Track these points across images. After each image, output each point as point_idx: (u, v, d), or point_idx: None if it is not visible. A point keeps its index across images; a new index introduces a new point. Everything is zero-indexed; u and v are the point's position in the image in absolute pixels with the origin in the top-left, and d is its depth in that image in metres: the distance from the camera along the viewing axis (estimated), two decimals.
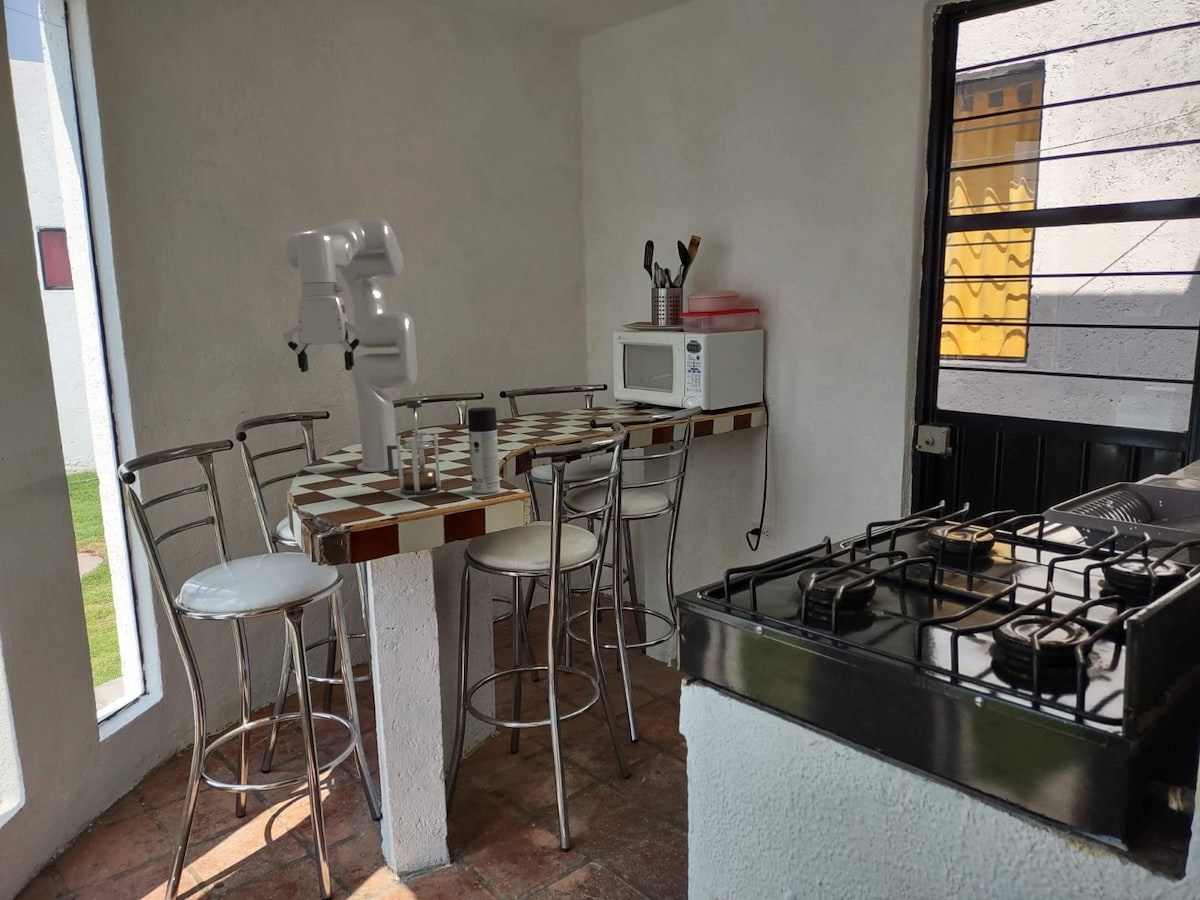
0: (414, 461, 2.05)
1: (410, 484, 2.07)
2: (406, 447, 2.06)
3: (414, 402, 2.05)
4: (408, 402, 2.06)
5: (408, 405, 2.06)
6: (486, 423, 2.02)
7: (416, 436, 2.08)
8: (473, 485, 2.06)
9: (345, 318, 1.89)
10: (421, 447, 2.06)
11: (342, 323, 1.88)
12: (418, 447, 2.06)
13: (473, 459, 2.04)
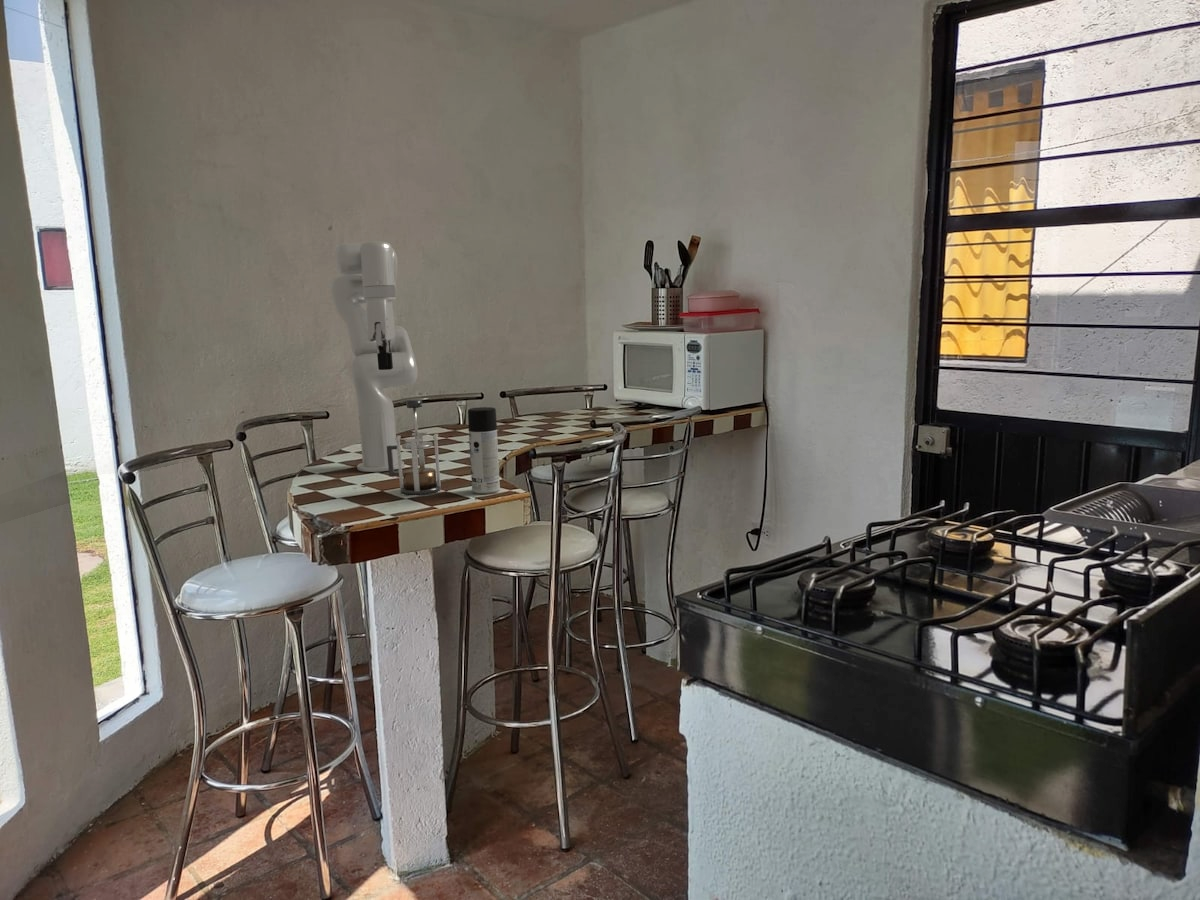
0: (414, 461, 2.05)
1: (410, 484, 2.07)
2: (406, 447, 2.06)
3: (414, 402, 2.05)
4: (408, 402, 2.06)
5: (408, 405, 2.06)
6: (486, 423, 2.02)
7: (416, 436, 2.08)
8: (473, 485, 2.06)
9: None
10: (421, 447, 2.06)
11: None
12: (418, 447, 2.06)
13: (473, 459, 2.04)
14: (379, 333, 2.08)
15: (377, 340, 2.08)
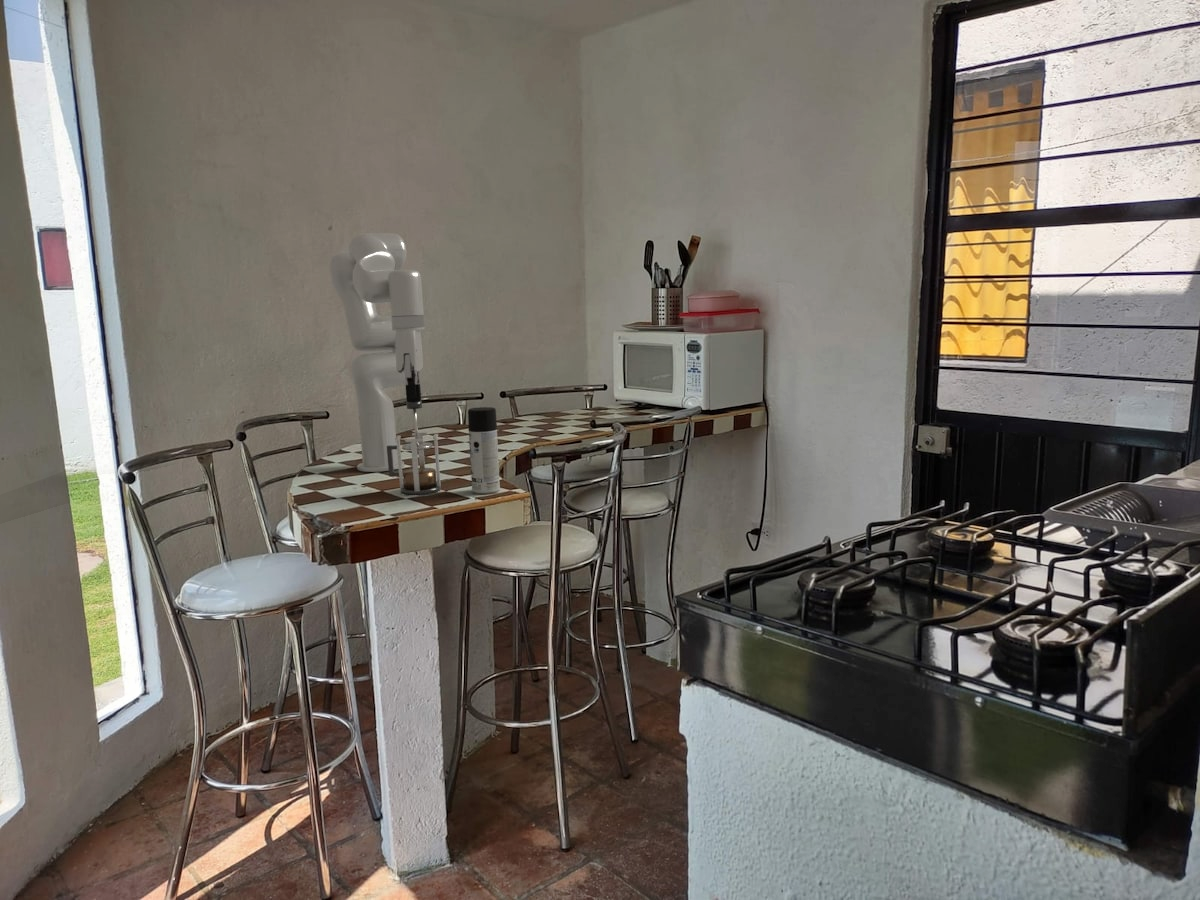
0: (414, 461, 2.05)
1: (410, 484, 2.07)
2: (406, 448, 2.06)
3: (414, 403, 2.05)
4: (408, 403, 2.06)
5: (408, 406, 2.06)
6: (486, 423, 2.02)
7: (416, 437, 2.08)
8: (473, 485, 2.06)
9: None
10: (421, 448, 2.06)
11: None
12: (418, 448, 2.06)
13: (473, 459, 2.04)
14: (408, 365, 2.01)
15: (406, 372, 2.01)
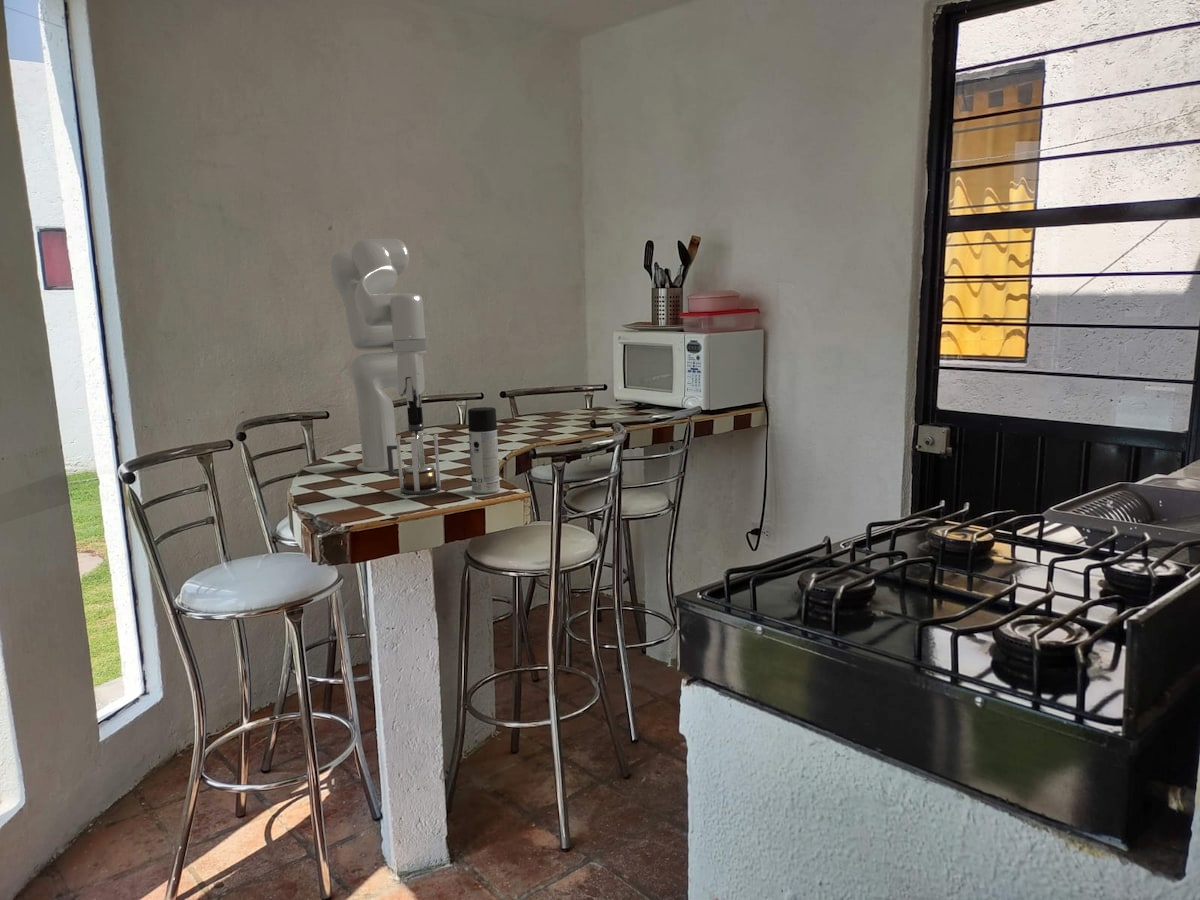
0: (414, 461, 2.05)
1: (410, 484, 2.07)
2: (408, 470, 2.07)
3: (416, 426, 2.06)
4: (410, 426, 2.07)
5: (410, 429, 2.07)
6: (486, 423, 2.02)
7: (418, 459, 2.09)
8: (473, 485, 2.06)
9: None
10: (423, 471, 2.07)
11: None
12: (420, 471, 2.07)
13: (473, 459, 2.04)
14: (410, 388, 2.02)
15: (408, 395, 2.02)
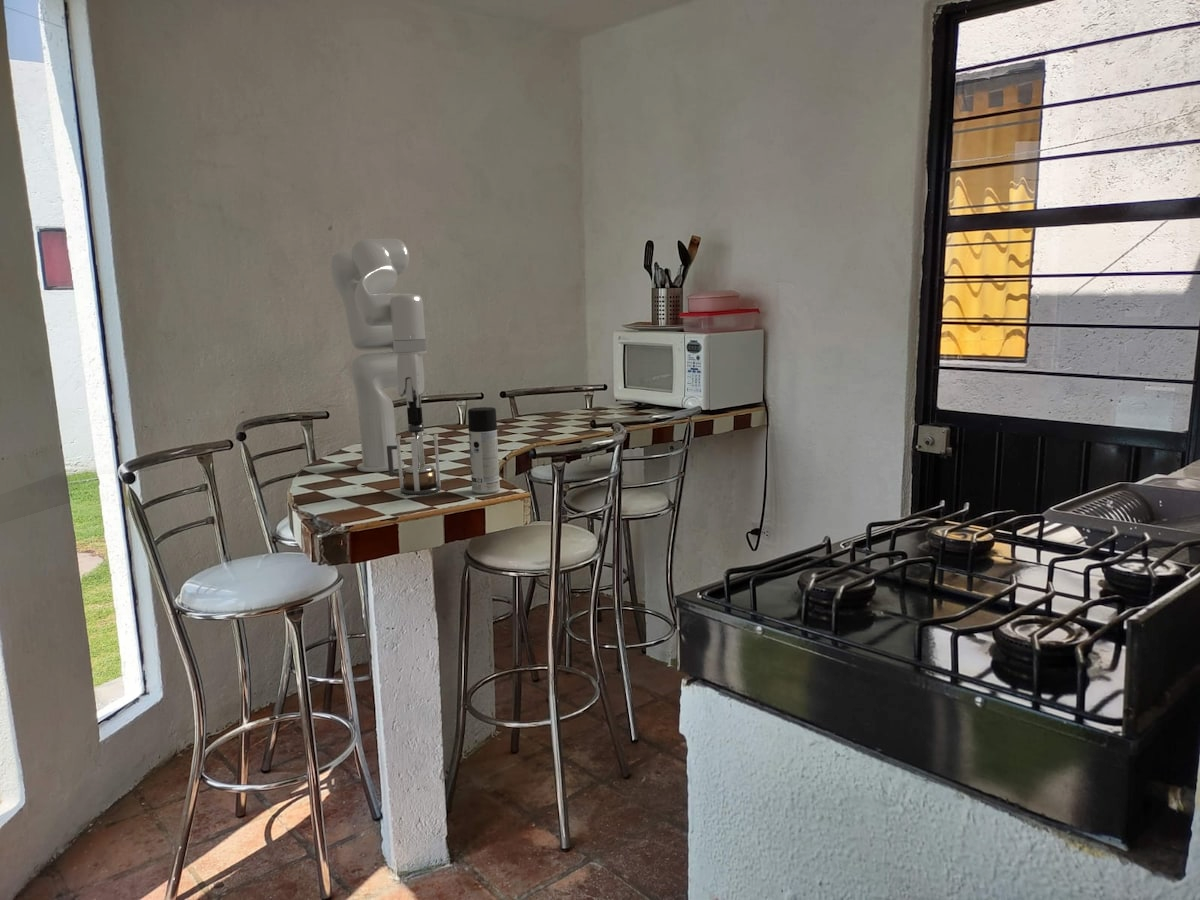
0: (414, 461, 2.05)
1: (410, 484, 2.07)
2: (408, 471, 2.07)
3: (416, 426, 2.06)
4: (410, 426, 2.07)
5: (410, 429, 2.07)
6: (486, 423, 2.02)
7: (418, 460, 2.09)
8: (473, 485, 2.06)
9: None
10: (423, 471, 2.07)
11: None
12: (420, 471, 2.07)
13: (473, 459, 2.04)
14: (410, 389, 2.02)
15: (408, 396, 2.02)
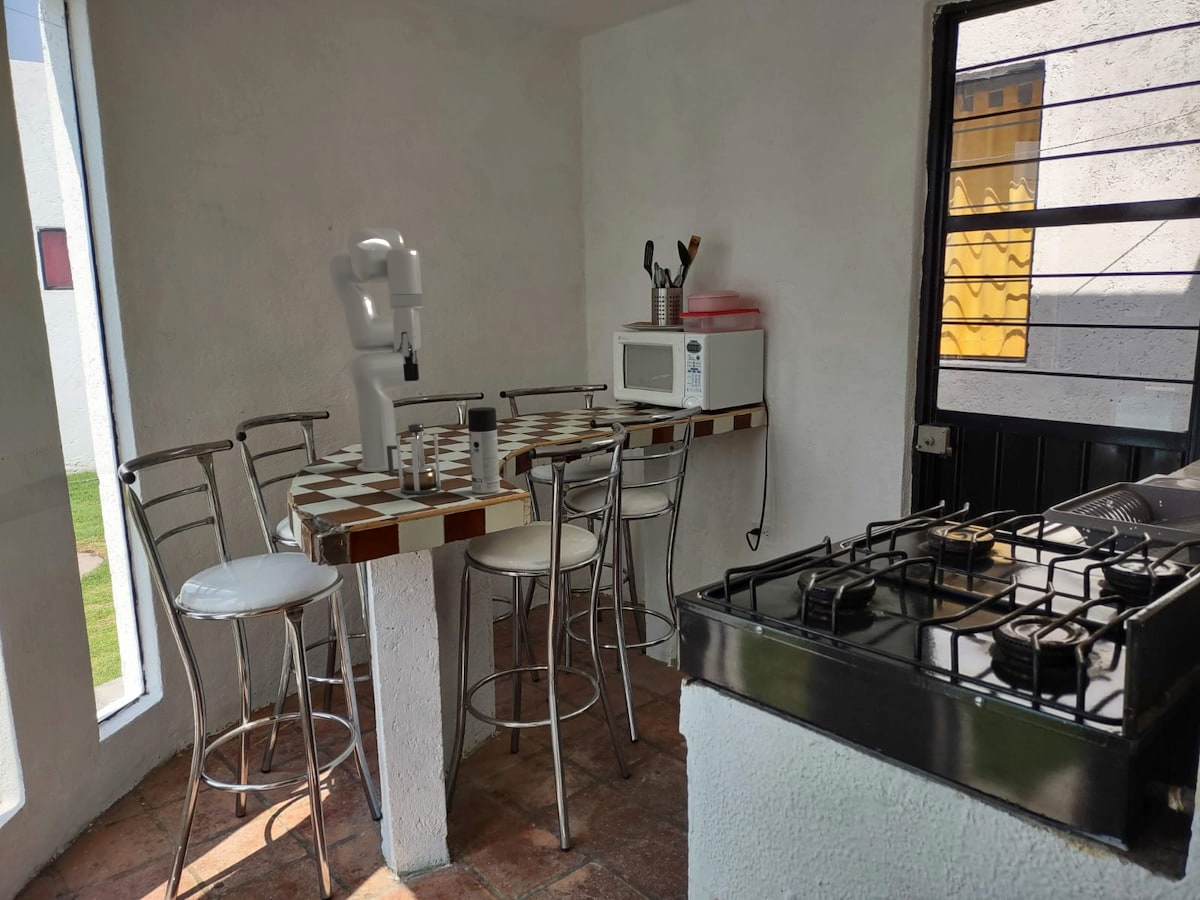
0: (414, 461, 2.05)
1: (410, 484, 2.07)
2: (408, 471, 2.07)
3: (416, 426, 2.06)
4: (410, 426, 2.07)
5: (410, 429, 2.07)
6: (486, 423, 2.02)
7: (418, 460, 2.09)
8: (473, 485, 2.06)
9: None
10: (423, 471, 2.07)
11: None
12: (420, 471, 2.07)
13: (473, 459, 2.04)
14: (406, 343, 2.00)
15: (404, 351, 2.00)
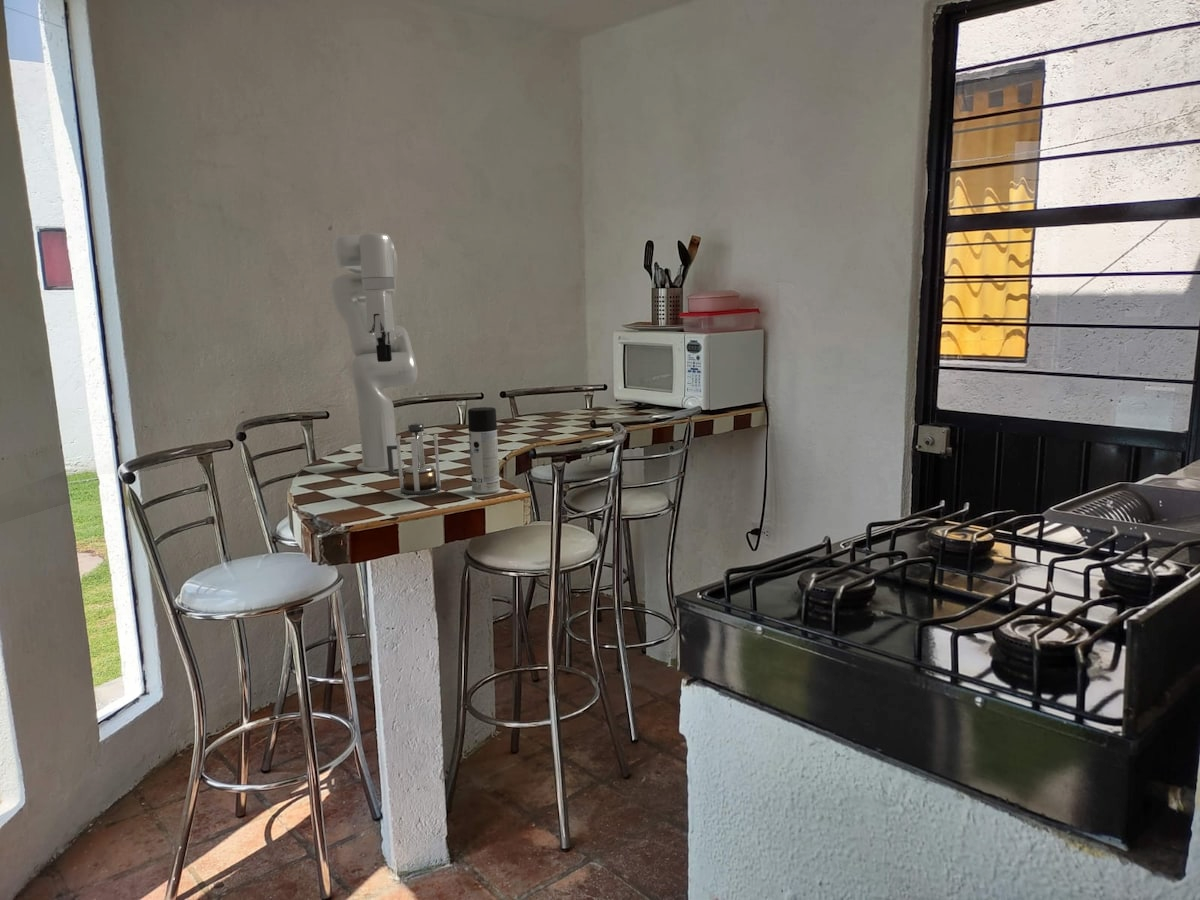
0: (414, 461, 2.05)
1: (410, 484, 2.07)
2: (408, 471, 2.07)
3: (416, 426, 2.06)
4: (410, 426, 2.07)
5: (410, 429, 2.07)
6: (486, 423, 2.02)
7: (418, 460, 2.09)
8: (473, 485, 2.06)
9: None
10: (423, 471, 2.07)
11: None
12: (420, 471, 2.07)
13: (473, 459, 2.04)
14: (378, 325, 2.08)
15: (376, 332, 2.07)
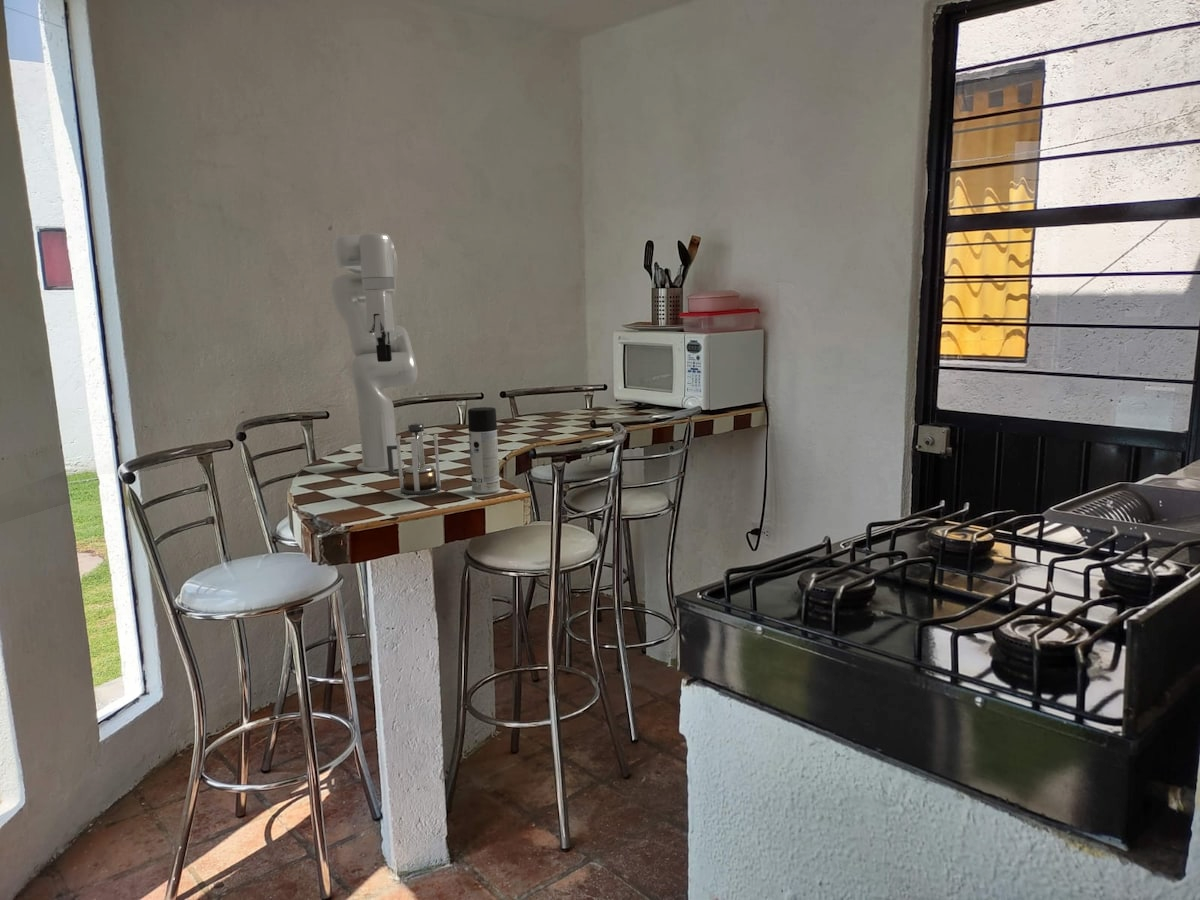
0: (414, 461, 2.05)
1: (410, 484, 2.07)
2: (408, 471, 2.07)
3: (416, 426, 2.06)
4: (410, 426, 2.07)
5: (410, 429, 2.07)
6: (486, 423, 2.02)
7: (418, 460, 2.09)
8: (473, 485, 2.06)
9: None
10: (423, 471, 2.07)
11: None
12: (420, 471, 2.07)
13: (473, 459, 2.04)
14: (378, 325, 2.08)
15: (376, 332, 2.07)
